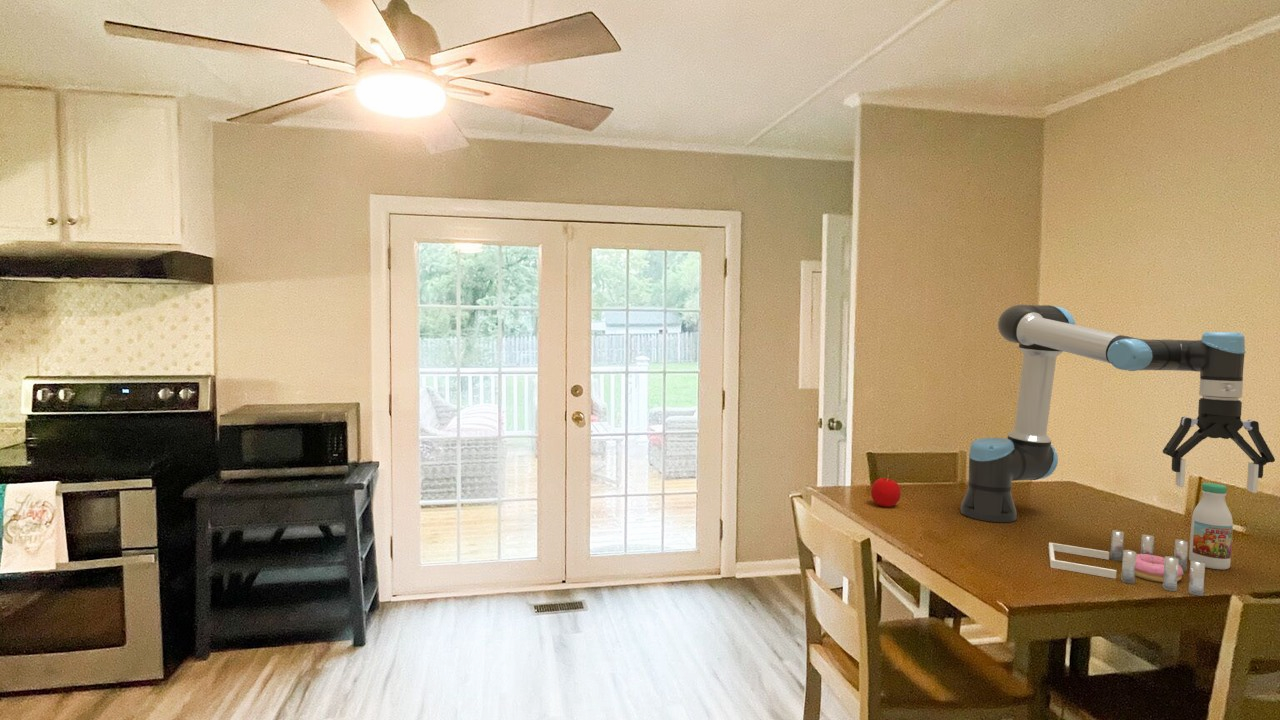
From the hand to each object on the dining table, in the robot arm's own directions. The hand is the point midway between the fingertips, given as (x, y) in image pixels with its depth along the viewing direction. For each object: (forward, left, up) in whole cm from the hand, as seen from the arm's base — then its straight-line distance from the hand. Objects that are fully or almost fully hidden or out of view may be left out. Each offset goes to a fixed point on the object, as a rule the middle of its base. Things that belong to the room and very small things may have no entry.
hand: (1215, 488), depth 153 cm
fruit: (-76, +20, -21) cm, 82 cm away
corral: (-25, -8, -21) cm, 33 cm away
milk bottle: (+2, +9, -21) cm, 23 cm away
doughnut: (-12, -8, -21) cm, 25 cm away
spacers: (-11, -8, -21) cm, 25 cm away
